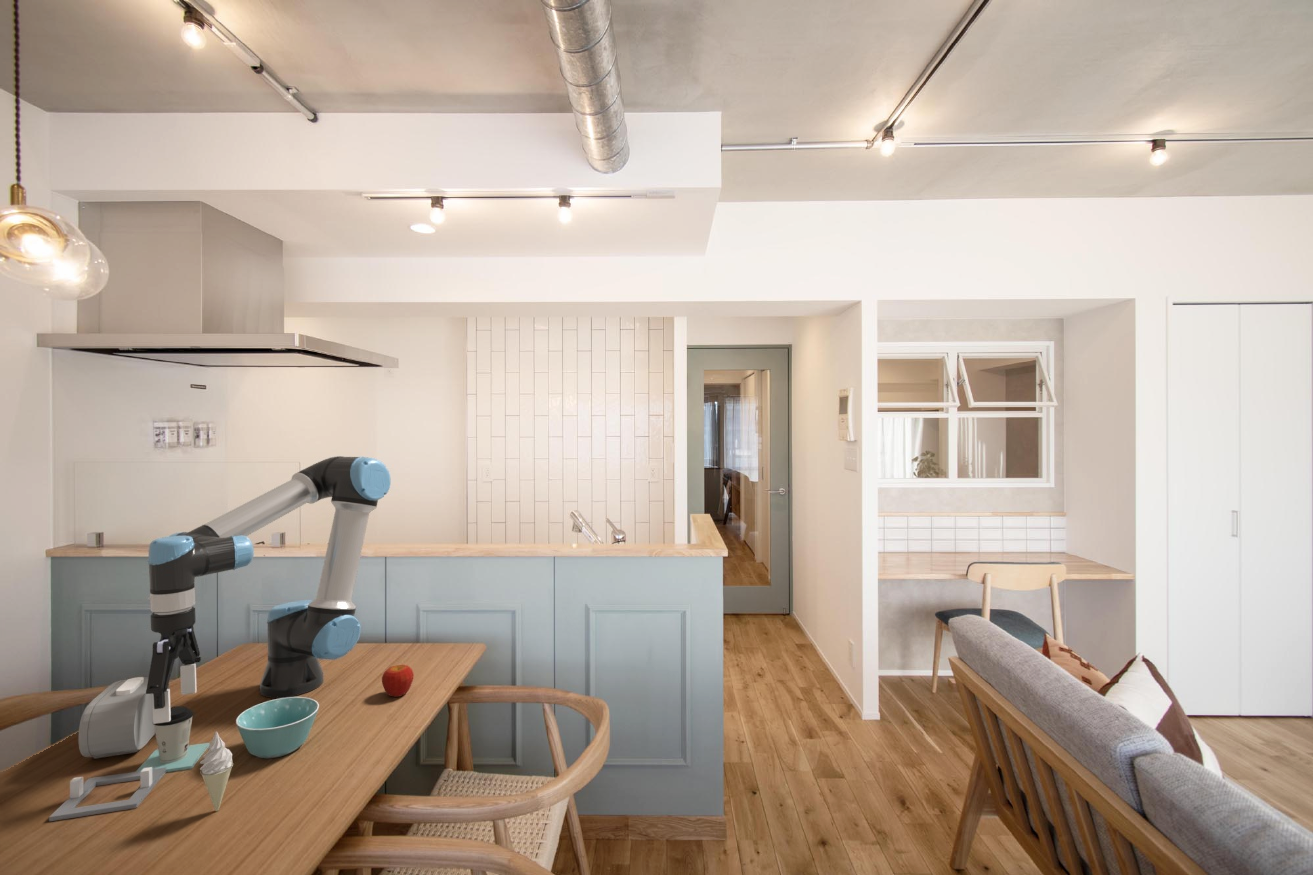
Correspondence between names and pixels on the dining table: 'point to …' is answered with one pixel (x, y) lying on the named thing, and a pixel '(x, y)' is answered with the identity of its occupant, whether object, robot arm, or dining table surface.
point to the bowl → (277, 725)
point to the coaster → (183, 764)
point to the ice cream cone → (216, 769)
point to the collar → (81, 790)
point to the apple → (397, 680)
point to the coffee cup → (174, 735)
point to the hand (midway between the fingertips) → (176, 707)
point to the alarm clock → (117, 720)
